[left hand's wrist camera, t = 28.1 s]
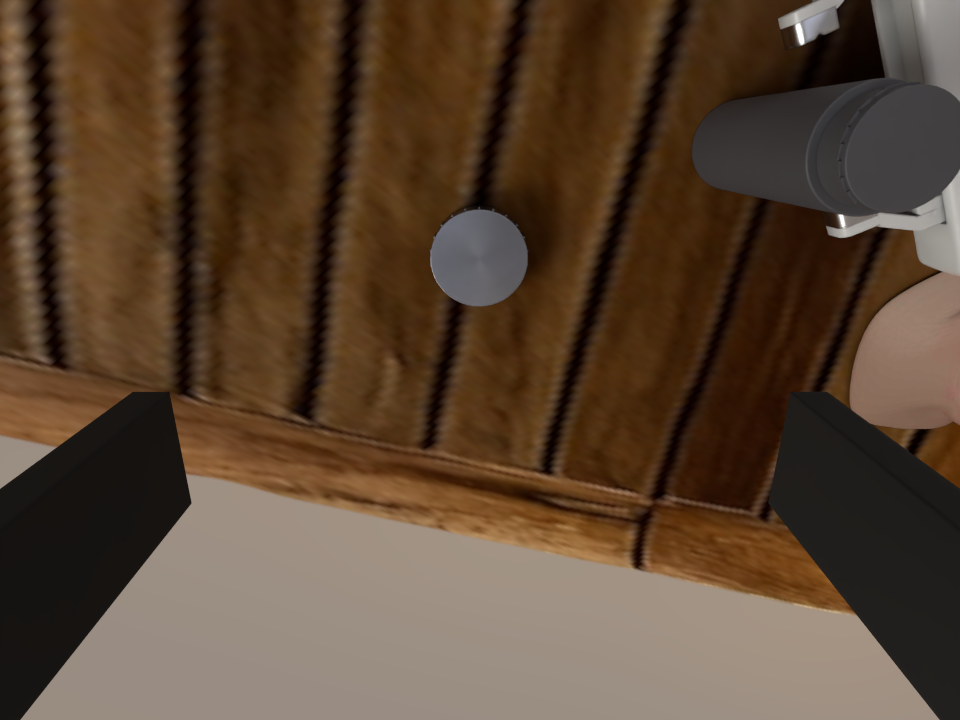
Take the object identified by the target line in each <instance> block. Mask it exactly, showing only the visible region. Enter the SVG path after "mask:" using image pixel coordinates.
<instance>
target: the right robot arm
mask: <svg viewBox="0 0 960 720" xmlns="http://www.w3.org/2000/svg"><path fill="white" fill-rule="evenodd" d="M843 1H844V0H812V2H811V3H809V4H807V5H805V6H803V7H801V8H799V9H796V10H794V11H792V12H790V13H788V14H786V15H784V16H782V17H780V18H778V21H779V25H780V29H781V34H782V38H783V42H784V46H785V50H788V49H791V48H795V47H798V46H801V45H803V44H806V43H808V42H810V41H812V40H815V39H816V37H819V36H823V35H826V34H828V33H830V32H832V31H834V30H836V29H838V28H839V22H838V16H837V11H836V9H837V8H838V7H839V6H840V5H841V4H842V2H843ZM871 3H872V9H873V14H874V20H875V25H876V31H877V36H878V41H879V47H880V52H881V58H882V63H883V69H884V74H885V78H896V79H901V80H904V81H907V82H920V83H923V84H929V85H934V86H938V87H940V88H943V89H945V90H947V91H948V92H950V93H951V94H953V95H954V96H955V97H956V98H957V99H958V100H959V101H960V0H871ZM823 212H824V217H825V222H826V227H827V231H828V234H829V235H831V236H835V237H838V238H845V237H850V236H853V235H856V234H858V233H860V232H863V231H865V230H868V229H870V228H873V227H875V226H879V227H886V228H895V229H904V230H913V232H914V237H915V243H916V249H917V255H918V258H919V260H920V262H922V263H923V264H925V265H927V266H929V267H932V268H934V269H937V270H939V271H942V272H945V273H948V274H952V275H956V276H960V170H959V172H958V174H957V175H956V176H955V178H954V179H953V181H952V182H951V183H950V184H949V185H948V186H947V188H946V189H944V190H943V191H942V192H941V193H940V194H939V195H938V196H936V197H935V198H934V199H932V200H931V201H929V202H928V203H926V204H924V205H922V206H920V207H918V208H915V209H912V210H909V211H905V212H901V213H883V212H880V213H877V214H873V215H869V216H861V217H852V216H845V215H840V214H835V213H830V212H826V211H823Z"/></svg>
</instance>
